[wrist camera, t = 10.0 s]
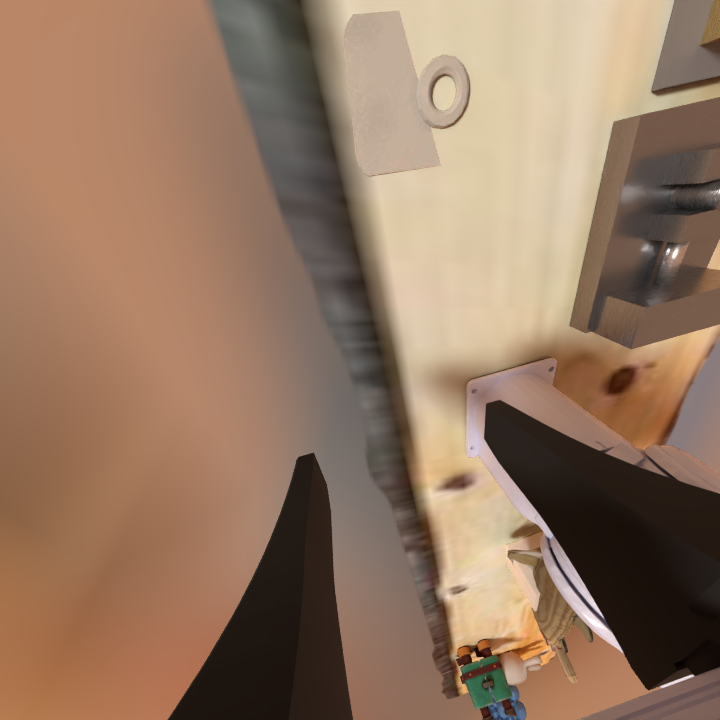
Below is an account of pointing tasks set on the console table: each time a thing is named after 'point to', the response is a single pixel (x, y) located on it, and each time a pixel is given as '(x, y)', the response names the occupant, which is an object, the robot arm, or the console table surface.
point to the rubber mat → (687, 47)
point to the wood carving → (545, 598)
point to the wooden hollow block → (712, 25)
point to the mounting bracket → (395, 96)
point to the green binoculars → (480, 685)
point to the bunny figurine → (518, 667)
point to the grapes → (498, 708)
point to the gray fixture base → (655, 229)
